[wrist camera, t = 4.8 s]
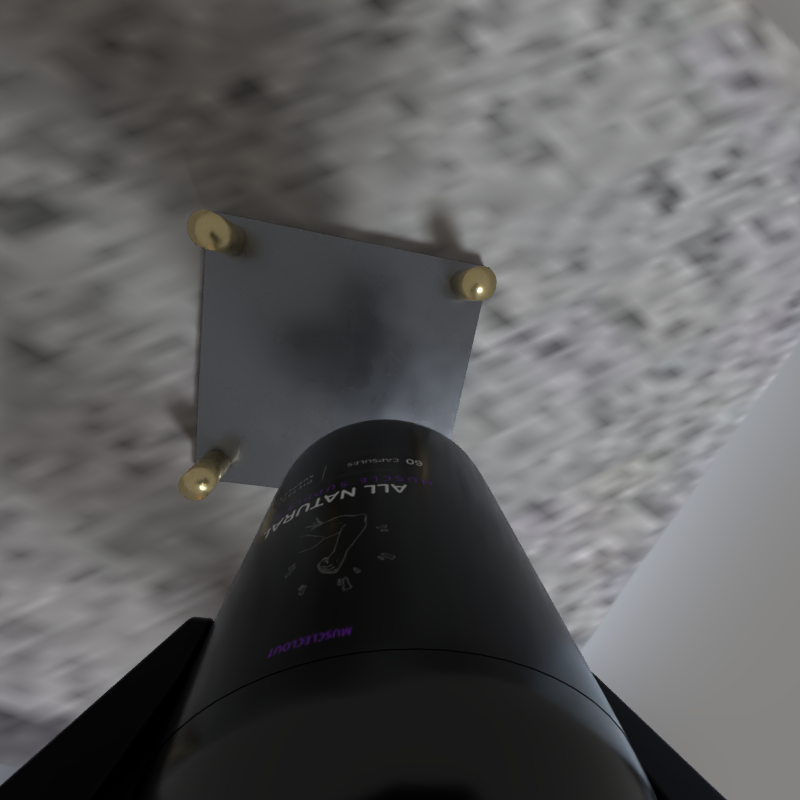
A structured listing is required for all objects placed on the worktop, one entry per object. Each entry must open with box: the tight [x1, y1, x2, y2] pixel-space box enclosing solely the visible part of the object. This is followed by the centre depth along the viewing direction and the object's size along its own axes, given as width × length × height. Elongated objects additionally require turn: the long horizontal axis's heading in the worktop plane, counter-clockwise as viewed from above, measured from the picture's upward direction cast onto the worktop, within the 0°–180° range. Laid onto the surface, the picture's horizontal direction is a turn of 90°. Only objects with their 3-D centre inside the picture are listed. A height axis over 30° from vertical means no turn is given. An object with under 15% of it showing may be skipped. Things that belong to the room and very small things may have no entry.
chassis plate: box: [178, 210, 497, 500], centre depth 18 cm, size 13×13×3 cm
